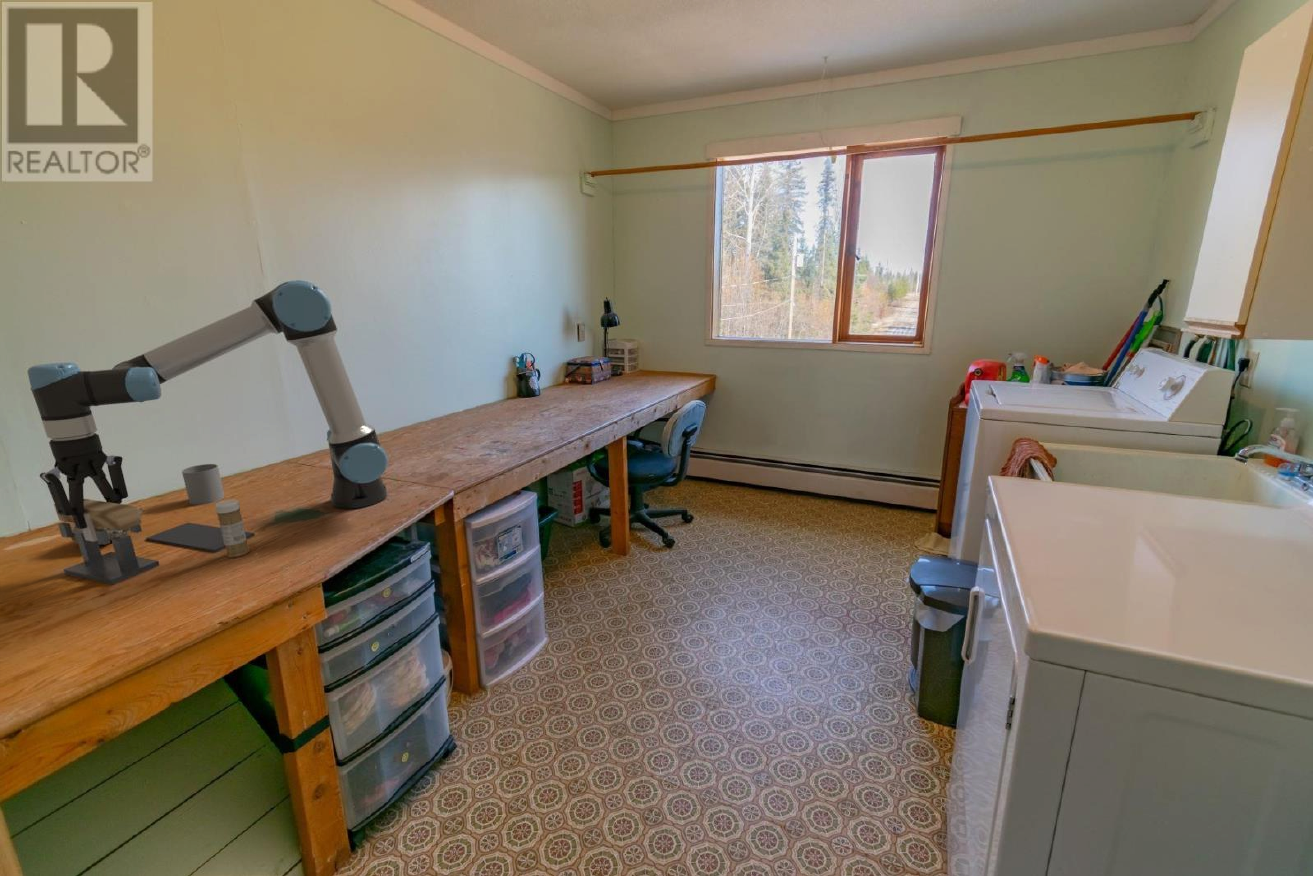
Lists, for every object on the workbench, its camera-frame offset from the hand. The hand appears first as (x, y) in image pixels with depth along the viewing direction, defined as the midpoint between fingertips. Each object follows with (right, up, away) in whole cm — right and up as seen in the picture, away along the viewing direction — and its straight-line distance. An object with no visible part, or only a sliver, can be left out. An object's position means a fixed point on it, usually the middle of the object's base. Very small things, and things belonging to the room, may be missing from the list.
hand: (104, 535), depth 125 cm
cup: (-12, +3, +44) cm, 46 cm away
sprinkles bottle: (+23, -6, +10) cm, 26 cm away
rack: (0, -8, +2) cm, 9 cm away
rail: (0, +3, -1) cm, 3 cm away
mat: (+7, -4, +18) cm, 20 cm away
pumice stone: (-15, -4, +18) cm, 24 cm away
